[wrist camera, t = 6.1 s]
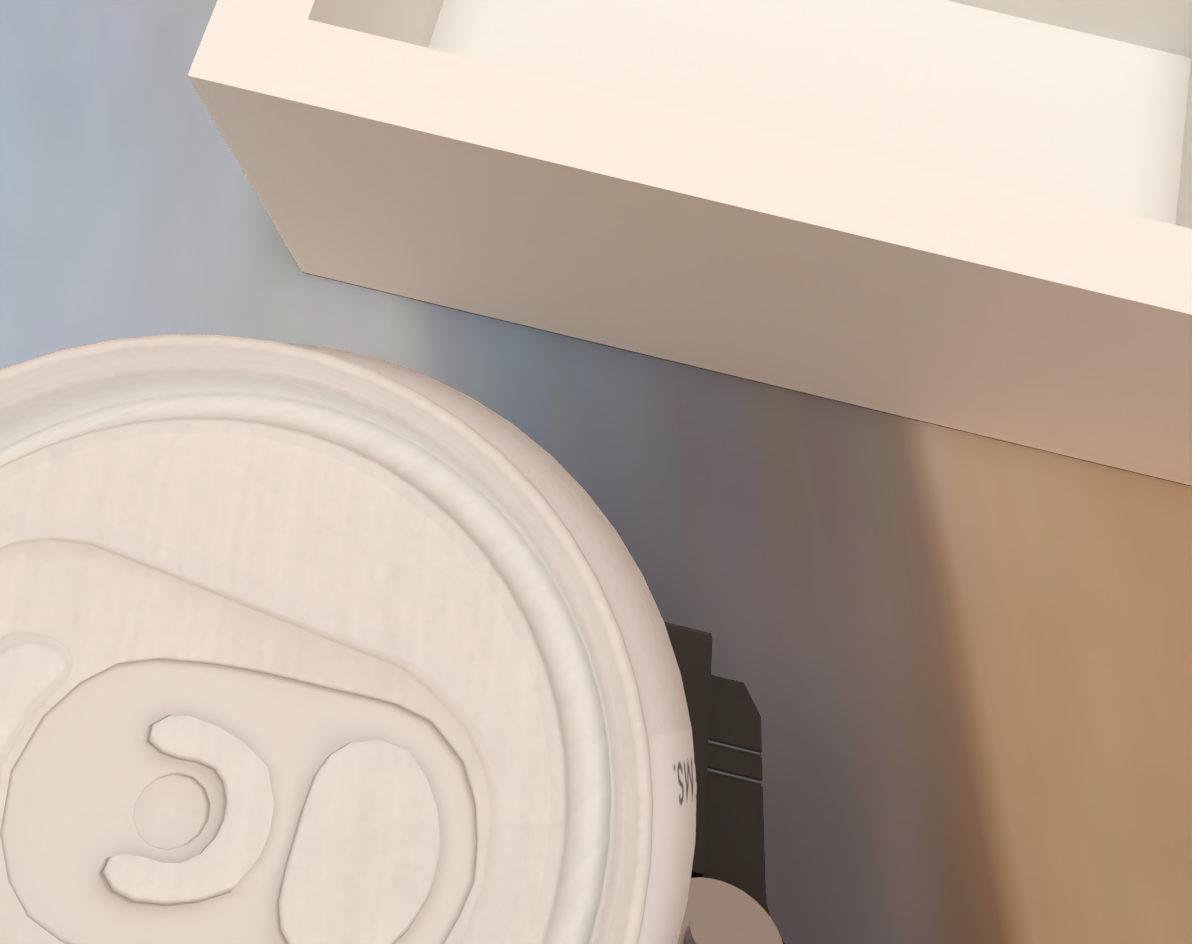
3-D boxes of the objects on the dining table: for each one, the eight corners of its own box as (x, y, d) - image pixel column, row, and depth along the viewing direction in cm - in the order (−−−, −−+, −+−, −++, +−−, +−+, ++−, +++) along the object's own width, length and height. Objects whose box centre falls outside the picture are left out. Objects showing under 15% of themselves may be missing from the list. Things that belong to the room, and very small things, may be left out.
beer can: (349, 558, 20) (-172, 170, 6) (625, 622, 20) (817, 399, 6) (262, 853, 19) (-761, 1360, 4) (559, 924, 19) (586, 1697, 4)
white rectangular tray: (1226, 48, 24) (1487, -204, 18) (1191, 486, 21) (1486, 384, 15) (441, -136, 25) (400, -455, 18) (301, 271, 22) (187, 75, 15)
